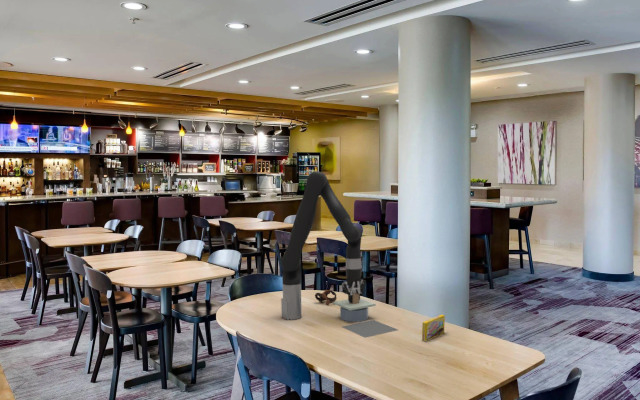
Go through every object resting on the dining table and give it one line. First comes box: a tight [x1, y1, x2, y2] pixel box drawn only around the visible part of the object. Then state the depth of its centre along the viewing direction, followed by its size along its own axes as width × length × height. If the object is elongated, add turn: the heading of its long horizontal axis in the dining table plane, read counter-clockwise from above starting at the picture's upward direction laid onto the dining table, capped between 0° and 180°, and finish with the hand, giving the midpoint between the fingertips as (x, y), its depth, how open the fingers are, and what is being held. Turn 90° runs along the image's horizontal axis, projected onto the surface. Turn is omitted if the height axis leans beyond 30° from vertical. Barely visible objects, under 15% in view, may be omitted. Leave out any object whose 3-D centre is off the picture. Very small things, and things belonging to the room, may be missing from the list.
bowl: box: [339, 306, 369, 323], centre depth 260 cm, size 13×13×6 cm
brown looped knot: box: [314, 289, 337, 306], centre depth 291 cm, size 12×10×8 cm
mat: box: [341, 319, 399, 339], centre depth 243 cm, size 19×19×1 cm
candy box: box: [421, 313, 446, 342], centre depth 231 cm, size 16×2×8 cm, turn 137°
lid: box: [332, 292, 377, 311], centre depth 260 cm, size 15×15×6 cm
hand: (354, 301), depth 260 cm, fingers closed on lid, 3 cm apart
